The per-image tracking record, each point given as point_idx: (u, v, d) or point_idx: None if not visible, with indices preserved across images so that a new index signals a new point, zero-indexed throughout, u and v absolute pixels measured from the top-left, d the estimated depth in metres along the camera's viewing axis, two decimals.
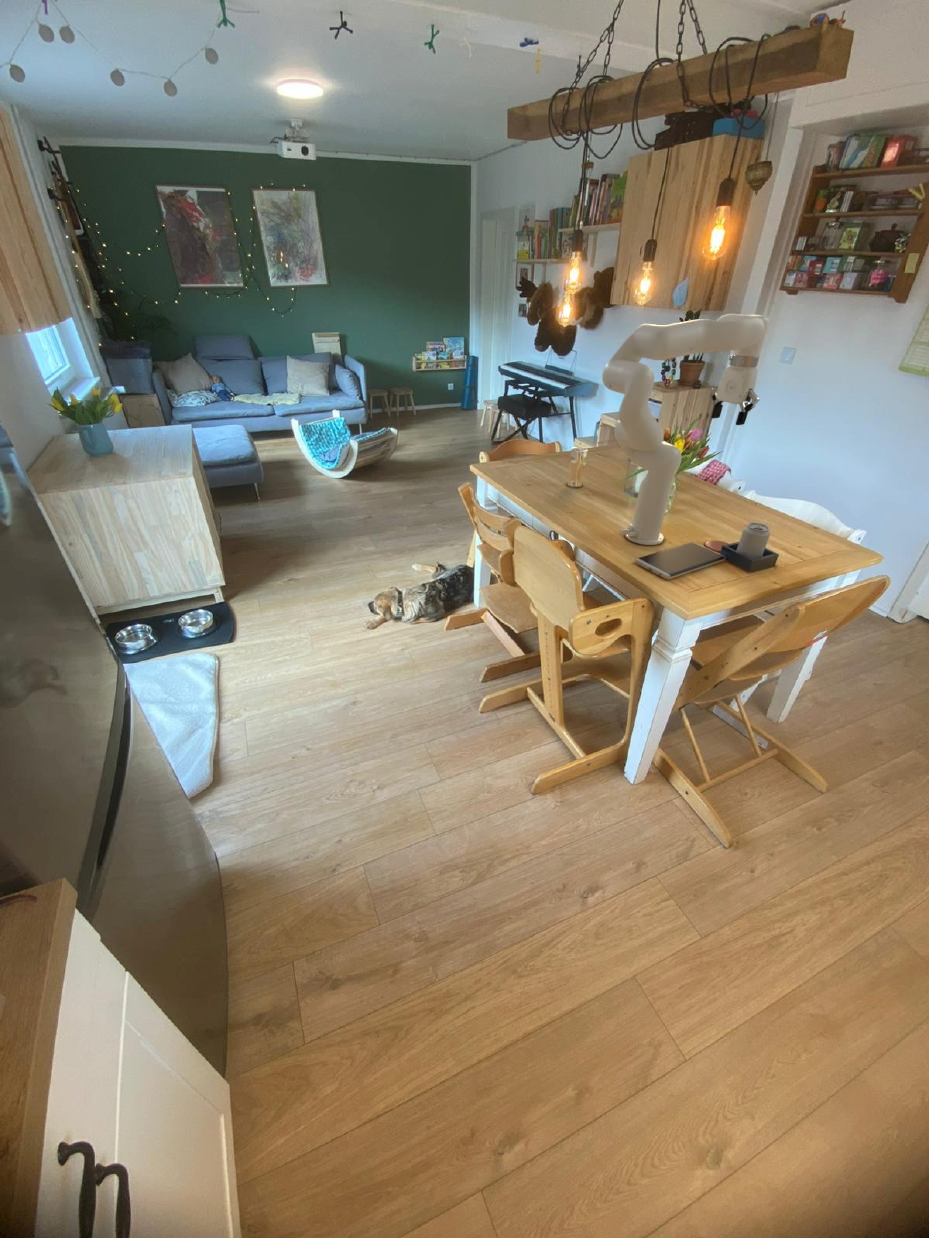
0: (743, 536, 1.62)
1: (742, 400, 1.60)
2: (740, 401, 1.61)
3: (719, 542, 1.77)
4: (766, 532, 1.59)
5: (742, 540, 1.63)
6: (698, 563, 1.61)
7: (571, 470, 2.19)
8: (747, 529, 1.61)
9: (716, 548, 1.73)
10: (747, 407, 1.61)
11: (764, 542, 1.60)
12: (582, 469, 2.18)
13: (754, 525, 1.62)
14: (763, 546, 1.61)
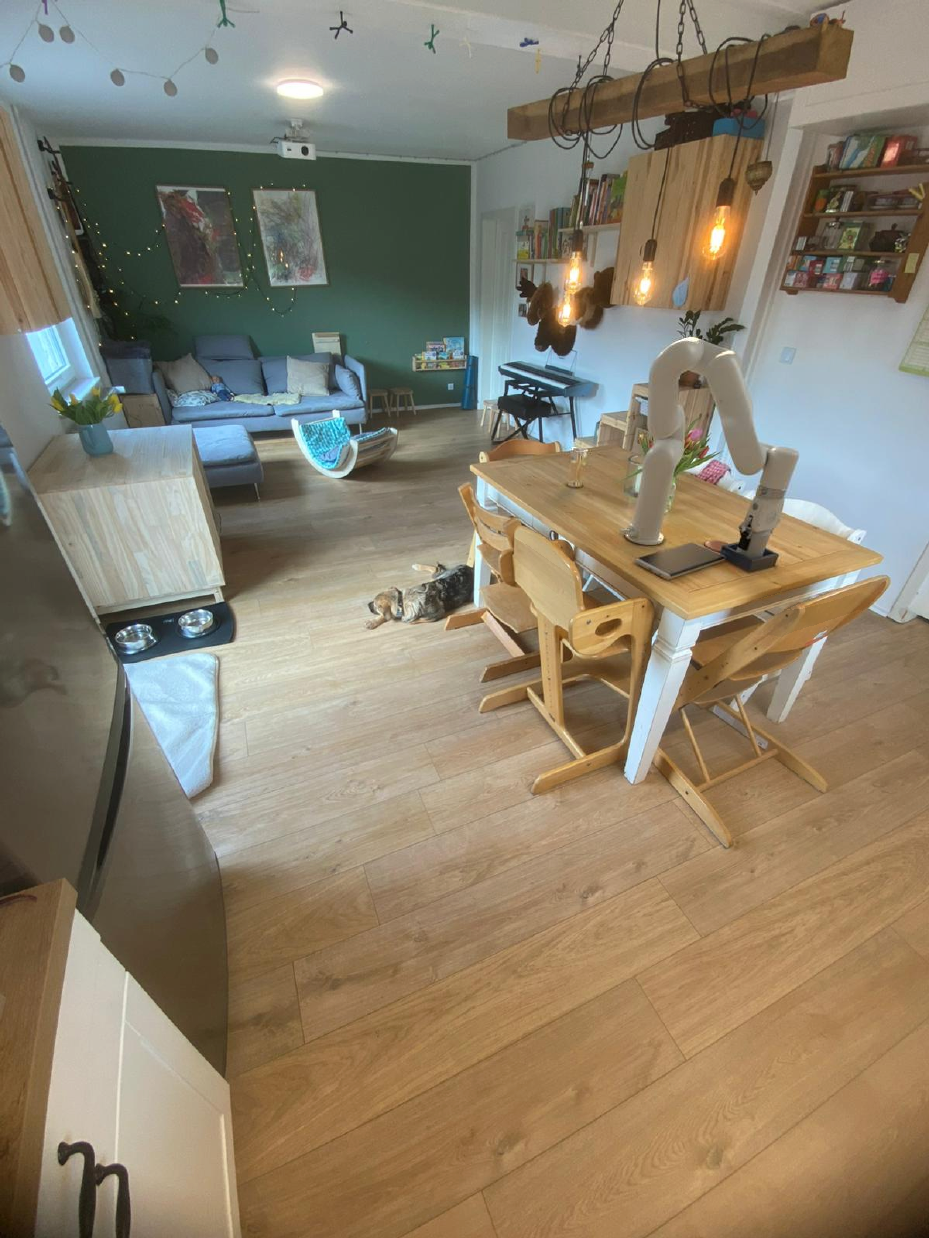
0: None
1: None
2: None
3: (719, 542, 1.77)
4: (766, 532, 1.59)
5: None
6: (698, 563, 1.61)
7: (571, 470, 2.19)
8: None
9: (716, 548, 1.73)
10: None
11: (764, 542, 1.60)
12: (582, 469, 2.18)
13: None
14: (763, 546, 1.61)
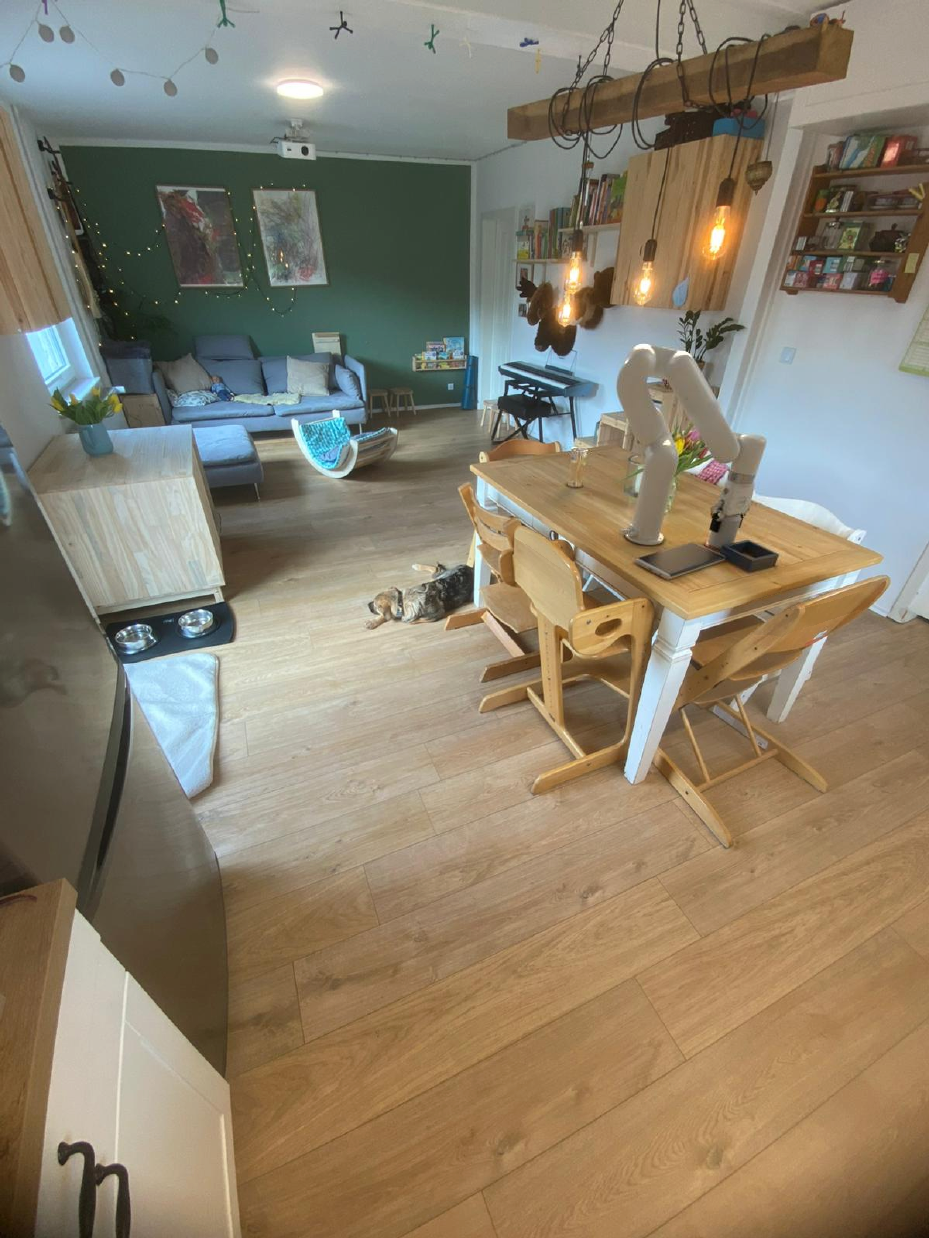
0: None
1: None
2: None
3: None
4: (737, 517, 1.67)
5: None
6: (698, 563, 1.61)
7: (571, 470, 2.19)
8: (719, 515, 1.69)
9: None
10: None
11: (735, 527, 1.68)
12: (582, 469, 2.18)
13: None
14: (735, 531, 1.69)
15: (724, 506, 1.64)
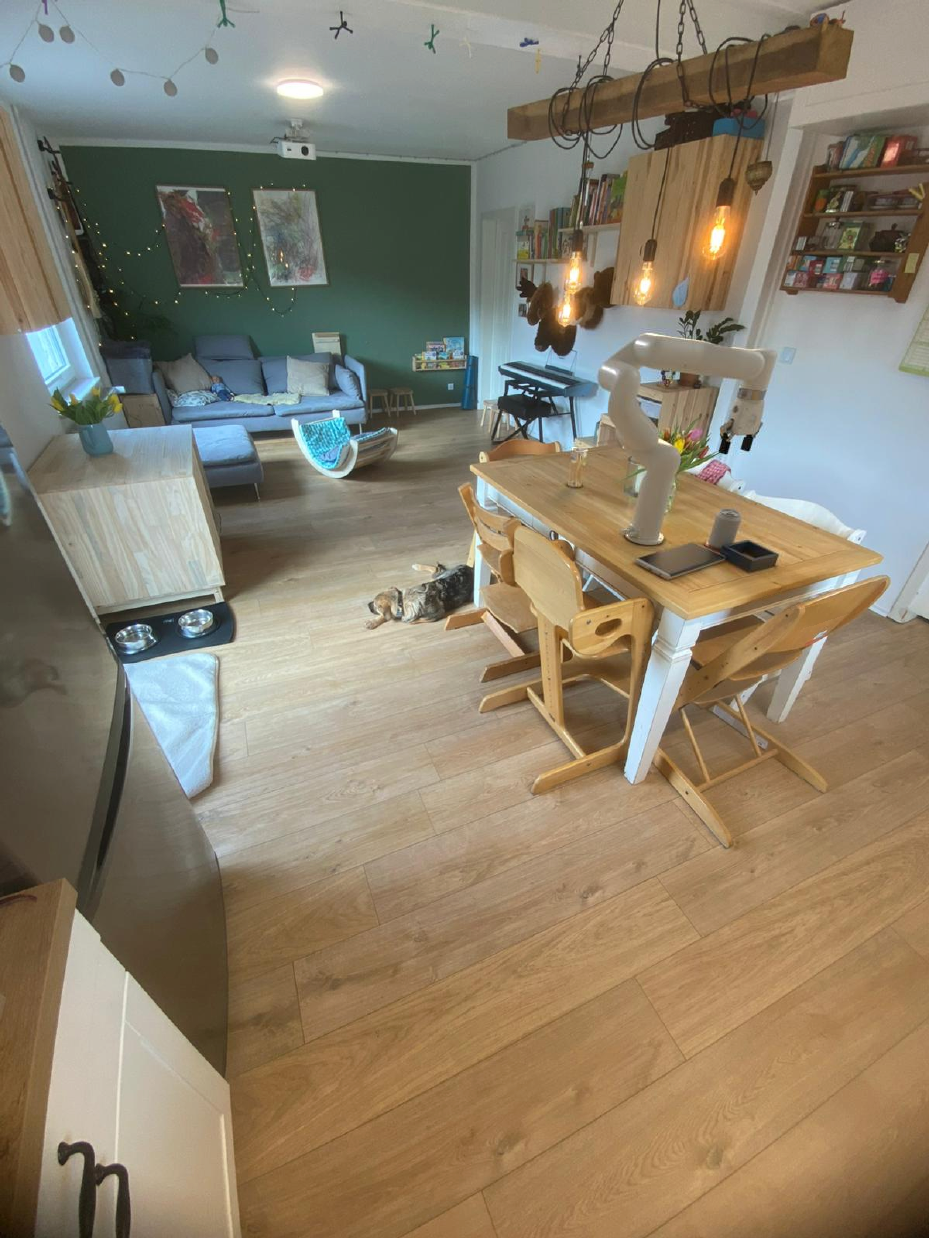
0: (716, 521, 1.70)
1: None
2: (757, 430, 1.65)
3: None
4: (737, 517, 1.67)
5: (715, 525, 1.71)
6: (698, 563, 1.61)
7: (571, 470, 2.19)
8: (719, 515, 1.69)
9: None
10: (755, 433, 1.68)
11: (735, 527, 1.68)
12: (582, 469, 2.18)
13: (726, 511, 1.70)
14: (735, 531, 1.69)
15: (734, 425, 1.61)
